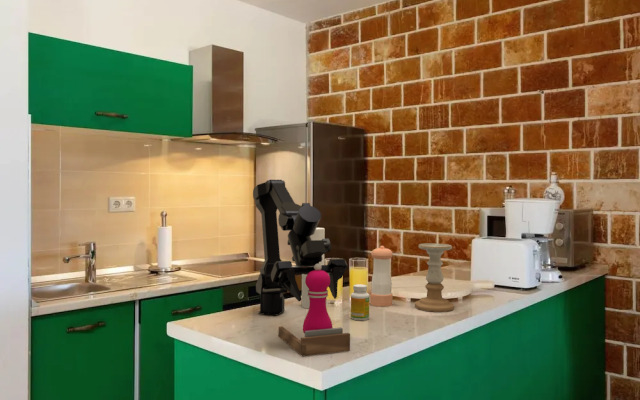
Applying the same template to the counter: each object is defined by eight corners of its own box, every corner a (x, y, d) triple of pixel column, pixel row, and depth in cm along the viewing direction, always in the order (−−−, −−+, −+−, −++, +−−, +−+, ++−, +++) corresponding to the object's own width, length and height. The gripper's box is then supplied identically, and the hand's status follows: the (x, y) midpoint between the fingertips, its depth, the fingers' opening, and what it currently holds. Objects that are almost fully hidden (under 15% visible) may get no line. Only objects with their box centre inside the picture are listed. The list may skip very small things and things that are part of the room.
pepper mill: (301, 342, 135) (301, 261, 135) (330, 341, 136) (331, 261, 135) (303, 351, 128) (303, 265, 127) (334, 350, 129) (334, 265, 128)
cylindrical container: (307, 309, 170) (308, 229, 170) (297, 305, 177) (298, 227, 176) (327, 307, 174) (328, 228, 173) (317, 303, 180) (318, 227, 179)
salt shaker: (366, 304, 178) (367, 246, 178) (376, 300, 184) (376, 244, 184) (386, 307, 174) (387, 247, 174) (396, 303, 181) (396, 245, 180)
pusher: (304, 352, 127) (304, 330, 126) (340, 348, 130) (340, 327, 130) (306, 353, 126) (306, 332, 125) (342, 349, 129) (342, 328, 129)
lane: (278, 336, 140) (278, 320, 140) (321, 331, 145) (321, 316, 145) (302, 356, 124) (302, 338, 124) (349, 350, 129) (350, 333, 128)
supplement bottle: (367, 321, 157) (368, 287, 156) (349, 320, 158) (349, 286, 157) (370, 316, 162) (370, 284, 162) (352, 315, 163) (352, 283, 163)
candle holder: (451, 313, 167) (452, 248, 166) (411, 310, 171) (412, 246, 171) (456, 305, 178) (457, 244, 178) (418, 302, 183) (419, 242, 182)
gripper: (274, 228, 132) (289, 281, 122) (344, 226, 139) (364, 277, 129) (265, 256, 139) (278, 309, 129) (332, 254, 147) (349, 303, 137)
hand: (318, 299), depth 131 cm, fingers open, 9 cm apart
